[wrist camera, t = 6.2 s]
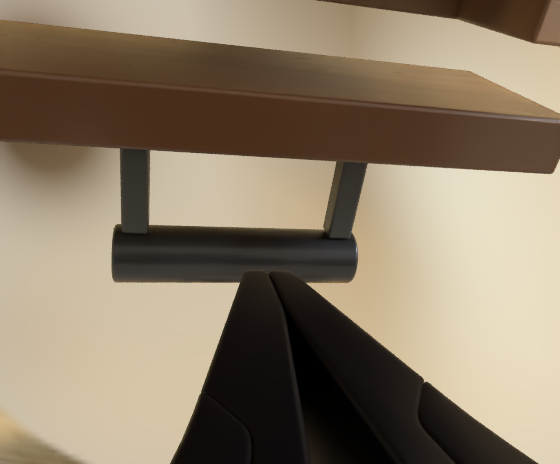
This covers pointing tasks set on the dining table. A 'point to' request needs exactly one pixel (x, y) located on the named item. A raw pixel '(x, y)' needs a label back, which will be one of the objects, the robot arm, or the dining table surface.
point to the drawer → (268, 126)
